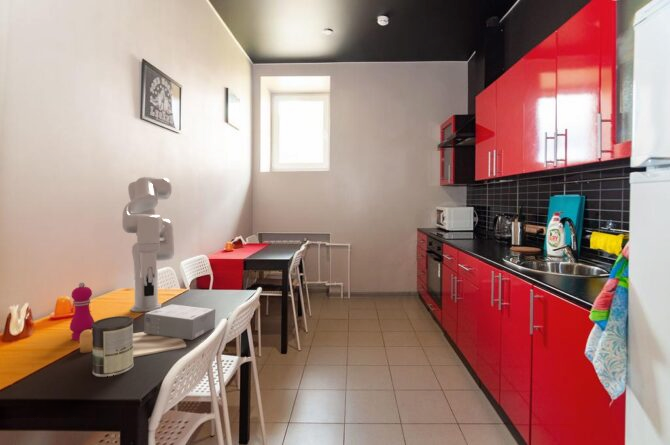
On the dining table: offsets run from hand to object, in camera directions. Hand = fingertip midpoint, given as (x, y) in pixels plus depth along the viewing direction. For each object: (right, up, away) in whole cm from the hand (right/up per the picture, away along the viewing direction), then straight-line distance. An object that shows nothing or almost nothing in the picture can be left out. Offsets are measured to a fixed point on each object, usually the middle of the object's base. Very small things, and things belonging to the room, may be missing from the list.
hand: (149, 295), depth 133 cm
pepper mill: (-21, -14, -7) cm, 26 cm away
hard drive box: (+2, -9, +2) cm, 10 cm away
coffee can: (+6, -15, -31) cm, 35 cm away
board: (+7, -14, -10) cm, 19 cm away
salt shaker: (-11, -14, -18) cm, 25 cm away
